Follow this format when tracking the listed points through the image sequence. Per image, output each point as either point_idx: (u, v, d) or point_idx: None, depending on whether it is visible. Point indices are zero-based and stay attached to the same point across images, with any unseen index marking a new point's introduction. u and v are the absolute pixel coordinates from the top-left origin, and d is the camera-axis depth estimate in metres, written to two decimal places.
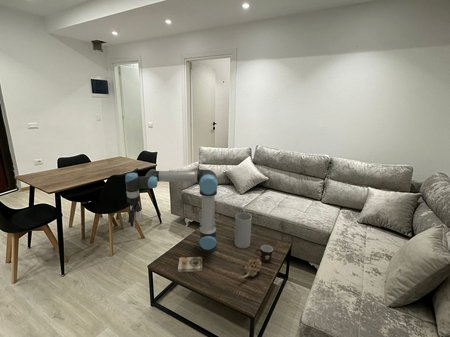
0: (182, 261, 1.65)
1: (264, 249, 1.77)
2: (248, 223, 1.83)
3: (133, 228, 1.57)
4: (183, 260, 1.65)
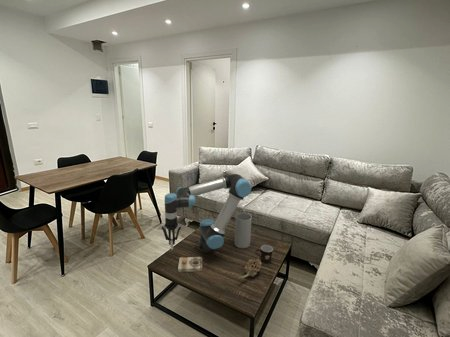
0: (182, 261, 1.65)
1: (264, 249, 1.77)
2: (248, 223, 1.83)
3: None
4: (183, 260, 1.65)
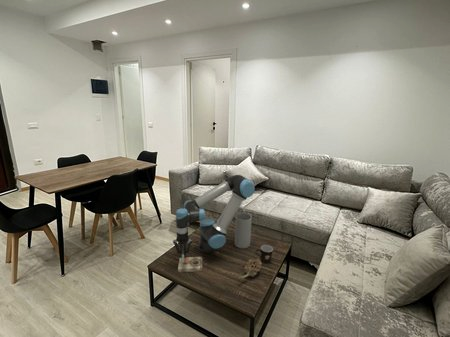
0: (185, 260, 1.65)
1: (264, 249, 1.77)
2: (248, 223, 1.83)
3: (182, 260, 1.66)
4: (187, 260, 1.65)
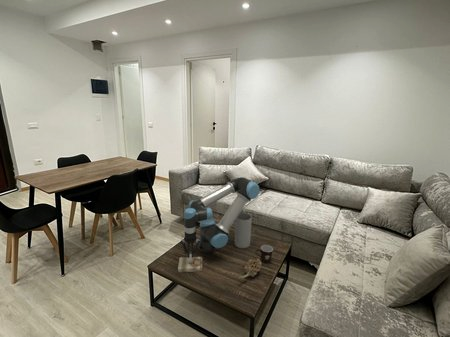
0: None
1: (264, 249, 1.77)
2: (248, 223, 1.83)
3: None
4: (194, 264, 1.66)
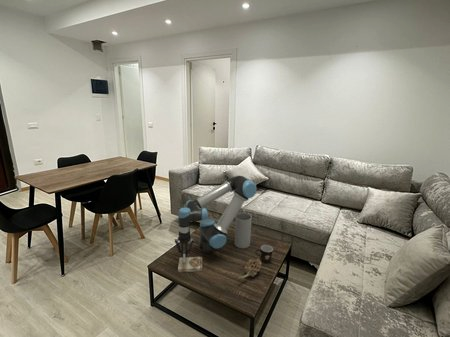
0: None
1: (264, 249, 1.77)
2: (248, 223, 1.83)
3: (183, 259, 1.65)
4: None
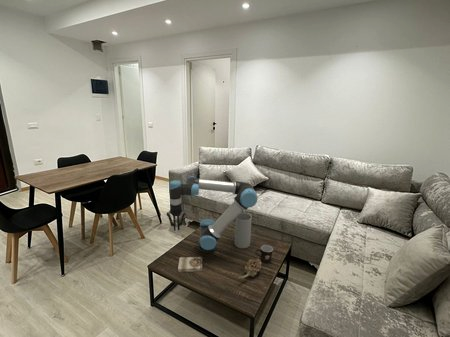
0: None
1: (264, 249, 1.77)
2: (248, 223, 1.83)
3: None
4: None
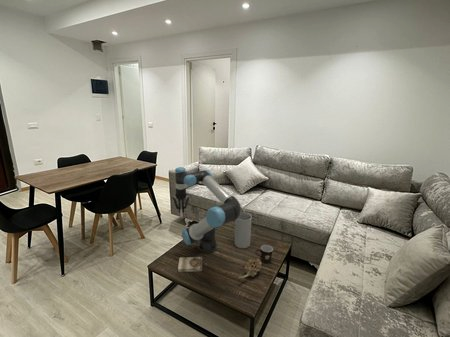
0: None
1: (264, 249, 1.77)
2: (248, 223, 1.83)
3: (180, 215, 1.84)
4: None
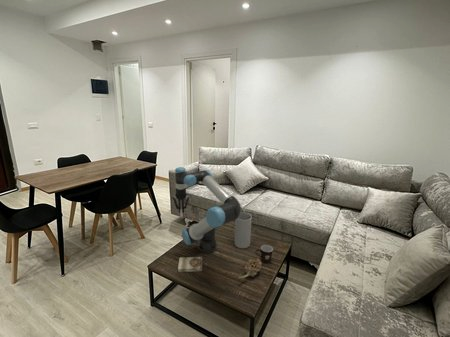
0: None
1: (264, 249, 1.77)
2: (248, 223, 1.83)
3: (180, 215, 1.84)
4: None
